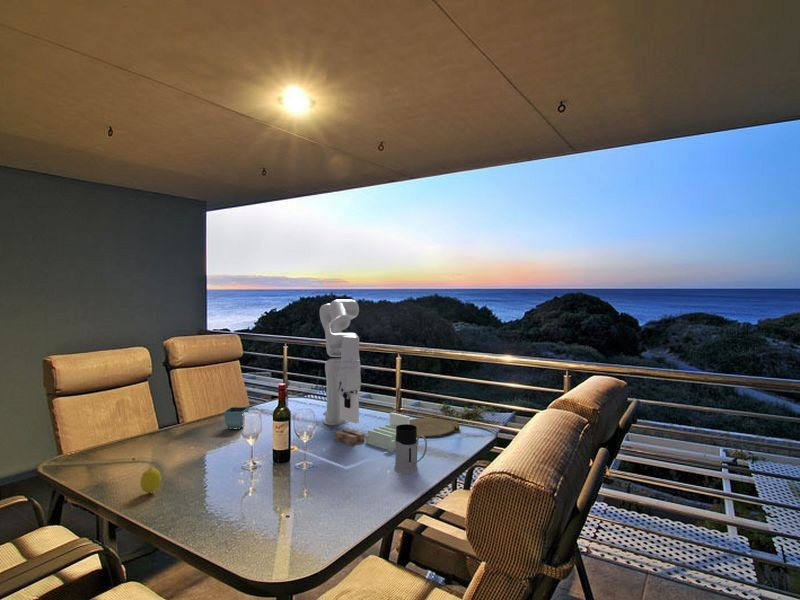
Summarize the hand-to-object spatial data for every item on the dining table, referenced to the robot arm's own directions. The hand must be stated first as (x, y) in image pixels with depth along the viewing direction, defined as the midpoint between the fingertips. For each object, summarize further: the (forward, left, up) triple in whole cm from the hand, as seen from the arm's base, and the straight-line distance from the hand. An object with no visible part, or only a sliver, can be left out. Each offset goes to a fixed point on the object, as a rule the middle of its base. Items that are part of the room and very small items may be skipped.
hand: (349, 406), depth 185 cm
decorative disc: (+14, +37, -16) cm, 43 cm away
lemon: (-10, -74, -15) cm, 77 cm away
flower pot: (-53, -22, -15) cm, 60 cm away
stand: (+1, 0, -15) cm, 15 cm away
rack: (+15, +11, -15) cm, 24 cm away
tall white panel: (0, 0, -6) cm, 6 cm away
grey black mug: (+40, -6, -15) cm, 43 cm away
